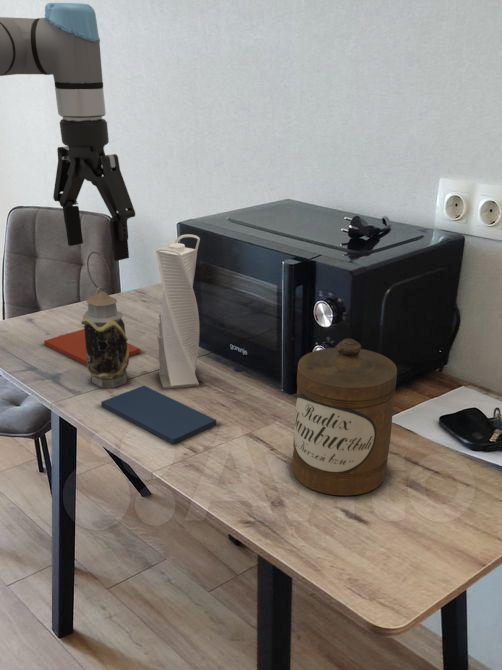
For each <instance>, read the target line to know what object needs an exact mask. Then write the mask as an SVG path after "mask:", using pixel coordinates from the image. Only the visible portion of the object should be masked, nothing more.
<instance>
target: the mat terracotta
mask: <svg viewBox="0 0 502 670" xmlns="http://www.w3.org/2000/svg"><path fill="white" fill-rule="evenodd" d="M43 343H44V346H46V347H48V348H50V349H52V350H55V351H57V352H58V353H61V354H63V355H65V356H67V357H69V358H71V359H73V360H75V361H77V362H78V363H81V364H83V365H85V366H86V367H87V366H88V363H87V353H86V343H85V332H84V328H82V329H78V330H76V331H72V332H69V333H68V332H67V333H65V334H60V335H58V336H54V337H51V338H48V339H45V340H43ZM128 345H129V357H132V356H135V355H138V354H141V348H140V347H138V346H135V345H132V344H130V343H128ZM129 357H128V358H129Z"/></svg>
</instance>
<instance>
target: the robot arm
mask: <svg viewBox="0 0 502 670" xmlns="http://www.w3.org/2000/svg"><path fill="white" fill-rule="evenodd" d="M101 54H102V53H101V37H100V34H99V28H98V21H97V15H96V11H95V9H94V7H92V6H91V5H90V4H88V3H79V2H48V3H46V4H45V6H44V17H37V18H28V17H7V16H6V17H5V16H0V77H3V76H4V77H5V76H15V75H44V76H50V75H52V77H53V82H54V90H55V91H54V92H55V100H56V108H57V114H58V116H60V117H62V119H60V121H59V129H60V136H61V142H62V144H63V146H58V147H57V149H56V151H57V165H56V172H55V173H56V174H55V180H54V188H53V194H52V195H53V197H52V198H53V201H54V202H58V203H59V206H60V207H62V212H63V220H64V224H65V232H66V238H67V246H70V247H73V246H78V245H83V244H84V240H83V239H84V238H83V233H82V224H81V216H80V215H81V214H80V208H79V202H78V201H77V200H78V197H79V194H80V192H81V189H82V187H83V185H84V182H85V181H87V182H90V183H91V184H92V185H93V186H94V187H96V190H97V191H98V193H99V194H100V197H101V198H102V201H103V203H104V204H105V207H106V209H107V210H108V212H109V214H110V216H111V218H110V219H109V224H110V225H109V226H110V235H111V246H112V255H113V256H112V257H113V261H114V262H115V261H116V262H118V261H122V260H126V259H129V258H130V252H129V242H128V240H129V231H128V230H129V229H128V228H129V227H128V220H129V219H132V218H135V217H136V211H135V208H134V205H133V202H132V199H131V197H130V194H129V191H128V187H127V186H126V183H125V180H124V177H123V174H122V171H121V168H120V167H121V166H120V161H119V156H118V154H116V153H114V154H107V155H106V152H105V146H106V145H108V144H109V142H110V141H109V140H110V139H109V138H110V137H109V129H108V121H107V120H106V119H105V118H103V117H105V116H106V115H107V111H106V102H105V101H106V100H105V93H104V80H103V79H104V78H103V69H102V56H101Z"/></svg>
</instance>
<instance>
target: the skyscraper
mask: <svg viewBox="0 0 502 670" xmlns="http://www.w3.org/2000/svg"><path fill="white" fill-rule="evenodd" d="M184 238H193V239H196V244H195V248H192V247H186V245H185V244H184V243H180V242H179V241H180V240H181V239H184ZM200 241H201V238H200V236H199V235H195V234H192V233H191V234H190V233H186V234H181V235H180V236H178V237H177V238H176V239H175V241H174V243H170V244H168V247H159V248H157V249H156V252H155V253H156V258H157V264H158V270H159V275H160V280H161V284H162V285H161V286H162V295H161V309H160V310H161V314H159V315H158V318H159V323H158V329H159V330H158V336H157V342H158V343H157V344H158V358H157V360H158V363H159V367H158V368H159V369H158V370H159V371H158V377H159V380H160V384H161V386H162V390H168V389H179V388H180V389H181V388H189V387H190V388H191V387H199V386H200V383H199V381H198V378H197V376H196V369H197V362H198V356H199V348H200V347H199V346H200V315H199V308H198V302H197V298H196V295H195V294H196V293H195V291H194V288H193V287H194V282H195V281H194V280H195V274H196V265H197V258H198V249H199V245H200Z"/></svg>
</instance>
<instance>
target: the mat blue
mask: <svg viewBox="0 0 502 670" xmlns="http://www.w3.org/2000/svg"><path fill="white" fill-rule="evenodd" d="M100 404H101V407H102V408H104V409H106V410H108V411H109V412H111V413H113V414H115V415H117V416H119V417H120V418H122V419H124V420H127V421H128V422H130V423H132V424H134V425H136V426H138V427H139V428H141V429H143V430H145V431H147V432H149V433H151V434H152V435H154V436H156V437H158V438H159V439H162V440H164V441H165V442H168V443H170V444H171V445H176V444H178V443H180V442H182V441H184V440H187V439H189V438H191V437H193V436H195V435H197V434H199V433H202V432H204V431H206V430H208V429H210V428H212V427H215V426H217V419H215V418H213V417H211V416H210V415H209V416H208V415H207V414H204V412H203V413H202V412H200V411H198V410H197V409H194V408H192V407H190V406H188V405H186V404H183V403H181V402H180V401H177V400H175V399H174V398H171V397H169V396H167V395H165V394H163V393H161V392H159V391H157V390H154V389H153V388H150V387H149V386H146V385H141V386H139V387H136V388H134V389H131V390H129V391H126V392H123V393H120V394H118V395H116V396H112V397H110V398H107V399H105V400H101V402H100Z"/></svg>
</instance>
